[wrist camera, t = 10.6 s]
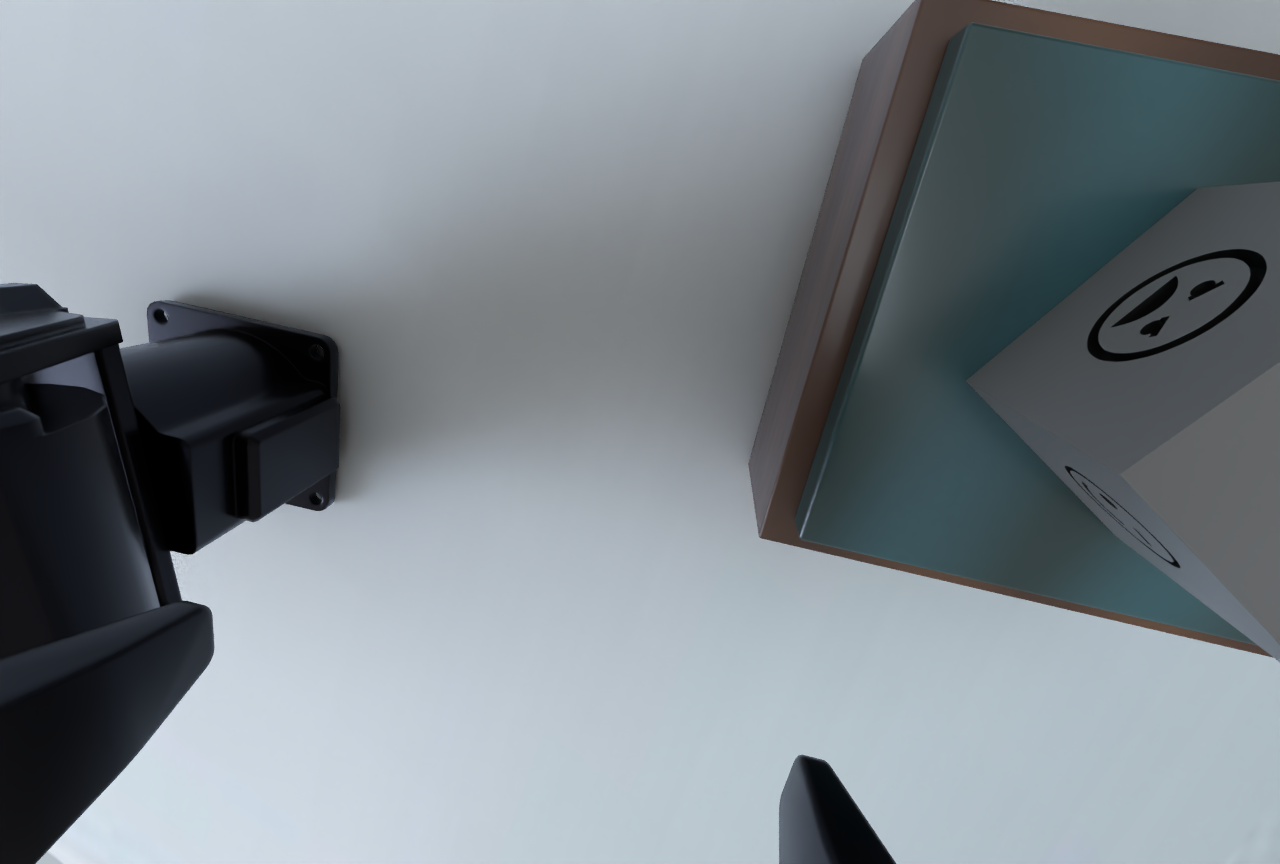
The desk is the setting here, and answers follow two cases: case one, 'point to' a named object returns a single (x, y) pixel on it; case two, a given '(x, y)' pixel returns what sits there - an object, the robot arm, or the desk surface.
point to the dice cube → (1170, 399)
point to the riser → (988, 290)
